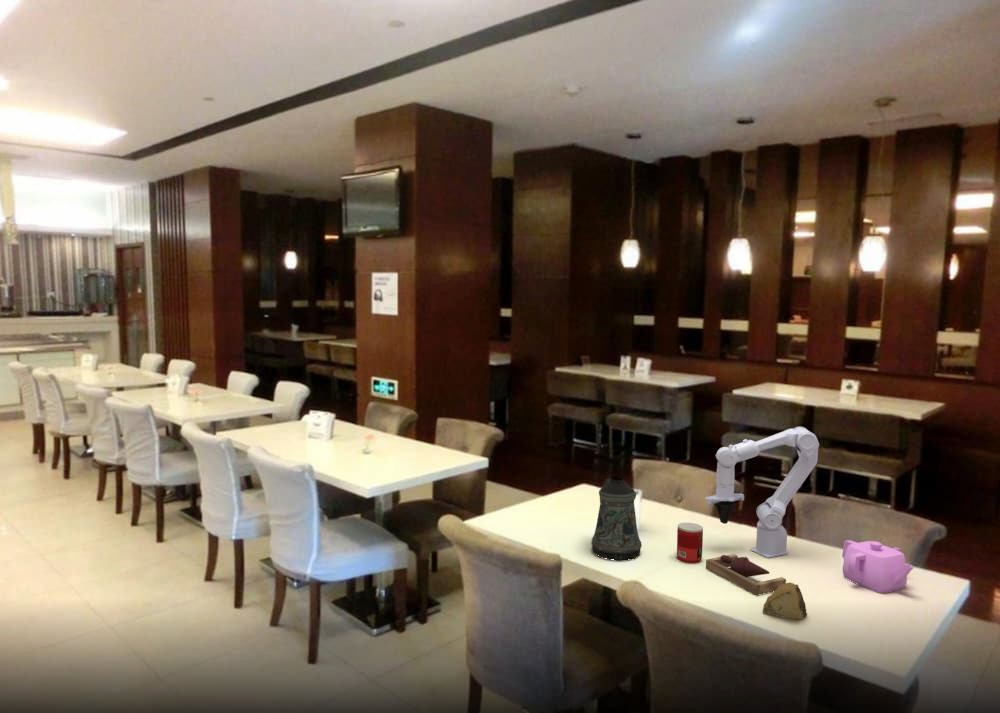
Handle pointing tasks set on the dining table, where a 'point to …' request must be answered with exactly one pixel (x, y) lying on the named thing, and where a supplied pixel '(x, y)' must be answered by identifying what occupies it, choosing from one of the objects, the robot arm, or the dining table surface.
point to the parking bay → (742, 577)
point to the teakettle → (875, 566)
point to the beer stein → (616, 522)
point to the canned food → (689, 542)
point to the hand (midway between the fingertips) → (723, 522)
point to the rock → (786, 602)
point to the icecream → (743, 566)
